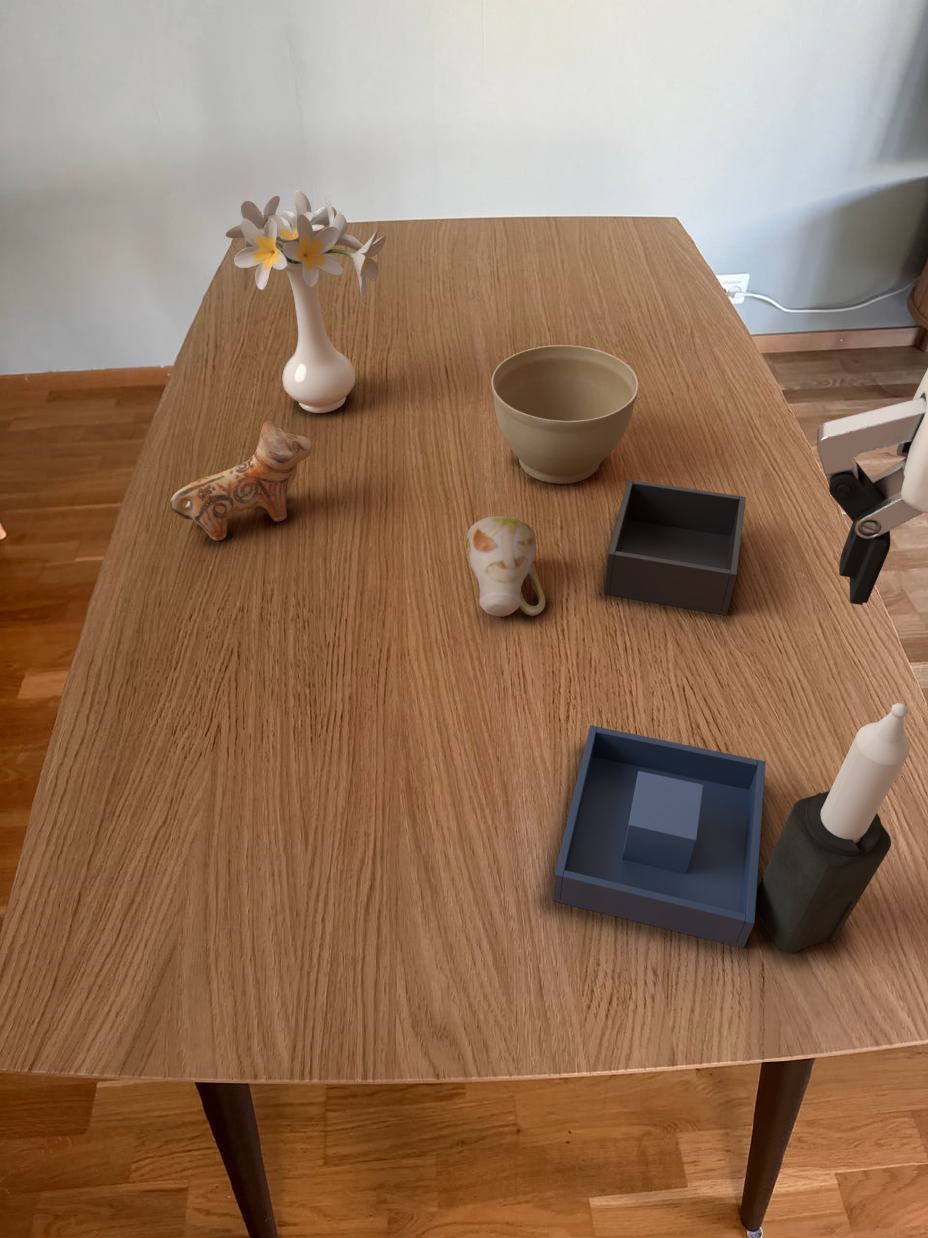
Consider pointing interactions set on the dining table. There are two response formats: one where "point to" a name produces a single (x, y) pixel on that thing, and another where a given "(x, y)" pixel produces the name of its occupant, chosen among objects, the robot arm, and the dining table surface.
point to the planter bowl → (563, 409)
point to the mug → (503, 564)
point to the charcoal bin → (676, 547)
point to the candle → (833, 842)
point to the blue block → (663, 822)
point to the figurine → (245, 483)
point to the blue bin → (687, 903)
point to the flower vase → (306, 288)
